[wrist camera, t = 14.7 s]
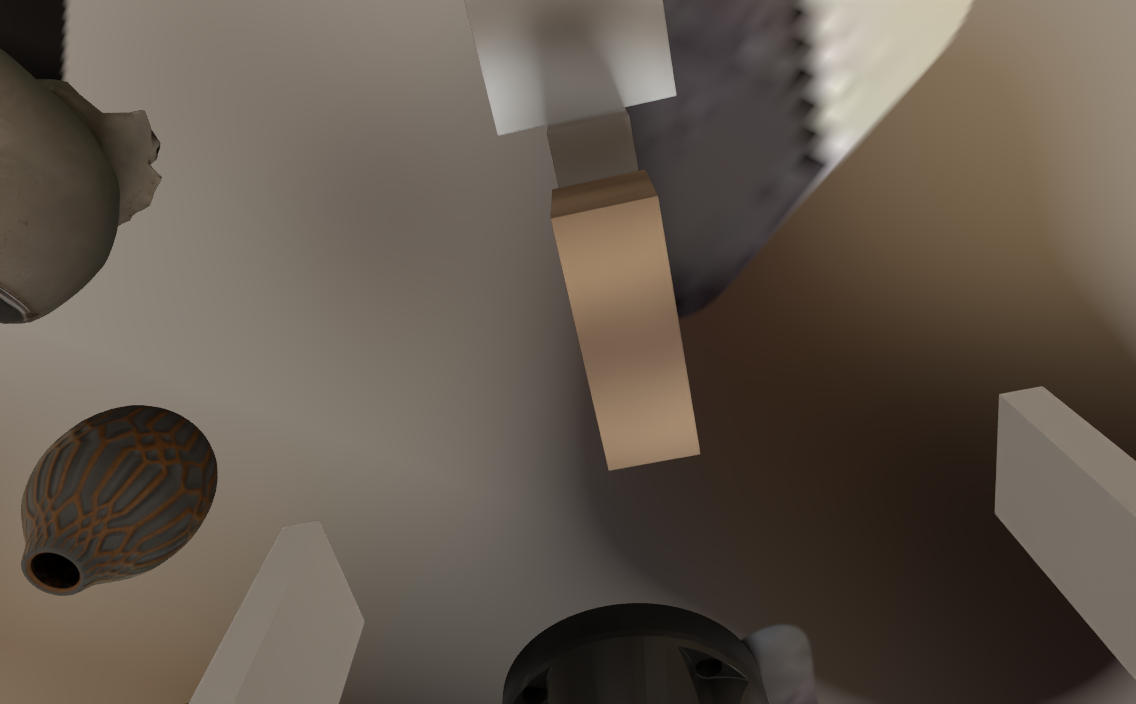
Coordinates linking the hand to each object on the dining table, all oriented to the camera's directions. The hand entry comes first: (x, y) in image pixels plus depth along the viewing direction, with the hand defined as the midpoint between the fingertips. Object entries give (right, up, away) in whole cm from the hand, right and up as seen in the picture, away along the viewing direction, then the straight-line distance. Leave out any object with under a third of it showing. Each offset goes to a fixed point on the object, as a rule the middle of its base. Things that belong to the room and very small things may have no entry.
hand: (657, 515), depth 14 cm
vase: (-21, -1, +22) cm, 30 cm away
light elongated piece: (-1, +10, +16) cm, 19 cm away
